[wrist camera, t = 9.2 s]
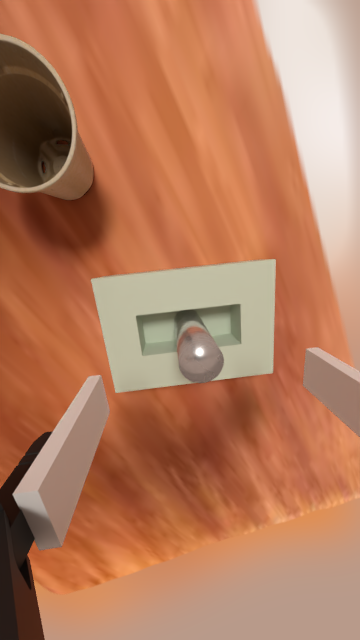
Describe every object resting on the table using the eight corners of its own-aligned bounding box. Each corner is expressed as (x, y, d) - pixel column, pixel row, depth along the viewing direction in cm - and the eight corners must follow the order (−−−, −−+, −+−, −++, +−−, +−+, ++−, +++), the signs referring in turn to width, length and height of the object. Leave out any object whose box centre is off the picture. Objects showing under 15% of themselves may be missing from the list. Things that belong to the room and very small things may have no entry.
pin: (172, 310, 27) (176, 344, 16) (199, 307, 27) (222, 339, 16) (175, 335, 28) (181, 385, 17) (201, 332, 28) (224, 380, 17)
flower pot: (50, 228, 25) (-9, 211, 16) (3, 140, 22) (-95, 67, 14) (122, 197, 24) (98, 163, 16) (82, 104, 22) (30, 6, 13)
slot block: (104, 276, 26) (90, 279, 22) (256, 259, 27) (275, 259, 22) (123, 372, 30) (115, 392, 25) (256, 355, 31) (272, 372, 26)
